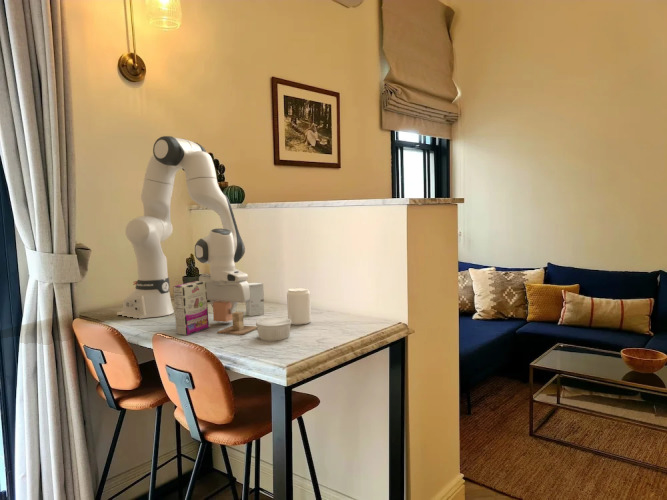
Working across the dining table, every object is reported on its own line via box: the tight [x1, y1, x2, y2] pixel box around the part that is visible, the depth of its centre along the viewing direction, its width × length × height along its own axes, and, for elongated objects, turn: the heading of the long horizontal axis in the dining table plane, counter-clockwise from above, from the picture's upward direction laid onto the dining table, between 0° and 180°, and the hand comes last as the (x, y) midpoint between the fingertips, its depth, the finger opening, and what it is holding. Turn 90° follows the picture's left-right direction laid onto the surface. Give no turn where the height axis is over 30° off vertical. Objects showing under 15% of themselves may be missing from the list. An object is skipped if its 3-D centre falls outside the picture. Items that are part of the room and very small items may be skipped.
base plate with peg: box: [216, 311, 258, 336], centre depth 172 cm, size 10×10×6 cm
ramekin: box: [255, 317, 292, 342], centre depth 162 cm, size 11×11×5 cm
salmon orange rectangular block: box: [212, 301, 232, 323], centre depth 183 cm, size 5×5×7 cm
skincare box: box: [245, 282, 265, 317], centre depth 197 cm, size 6×4×12 cm
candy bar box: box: [172, 280, 210, 336], centre depth 173 cm, size 11×5×16 cm, turn 153°
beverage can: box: [286, 287, 312, 326], centre depth 181 cm, size 8×8×12 cm
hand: (224, 313), depth 183 cm, fingers closed on salmon orange rectangular block, 5 cm apart
